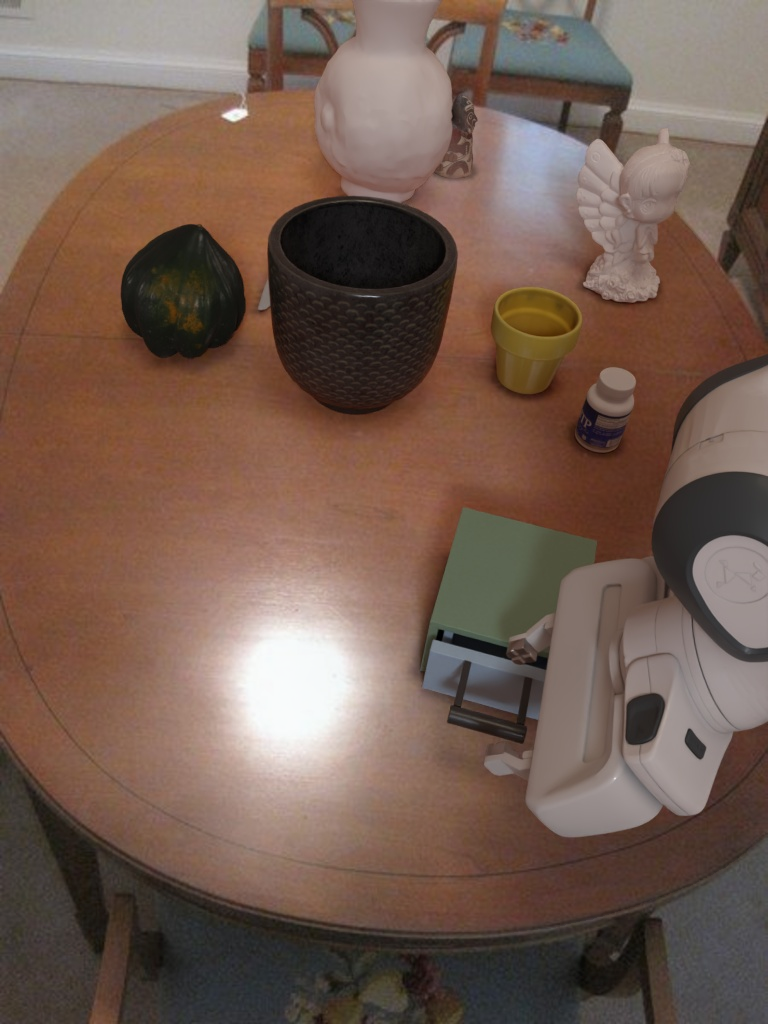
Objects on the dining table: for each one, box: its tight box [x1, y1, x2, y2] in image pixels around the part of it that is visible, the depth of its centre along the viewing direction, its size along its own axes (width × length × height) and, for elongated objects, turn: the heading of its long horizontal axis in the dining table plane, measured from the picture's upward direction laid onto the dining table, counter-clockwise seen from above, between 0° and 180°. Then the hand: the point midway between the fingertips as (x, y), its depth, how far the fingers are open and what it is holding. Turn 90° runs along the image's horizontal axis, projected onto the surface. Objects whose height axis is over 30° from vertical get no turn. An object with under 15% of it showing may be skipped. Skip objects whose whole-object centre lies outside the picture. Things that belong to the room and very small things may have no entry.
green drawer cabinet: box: [419, 506, 598, 673], centre depth 77 cm, size 14×13×8 cm
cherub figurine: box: [575, 127, 691, 303], centre depth 116 cm, size 13×12×20 cm
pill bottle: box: [574, 366, 637, 454], centre depth 96 cm, size 5×5×9 cm
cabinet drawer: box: [421, 631, 548, 745], centre depth 74 cm, size 18×11×6 cm, turn 165°
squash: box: [120, 223, 247, 360], centre depth 102 cm, size 14×15×15 cm
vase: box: [313, 0, 453, 203], centre depth 124 cm, size 19×21×30 cm
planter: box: [266, 195, 459, 416], centre depth 95 cm, size 20×20×19 cm
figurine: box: [433, 92, 479, 179], centre depth 138 cm, size 7×7×12 cm
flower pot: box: [490, 286, 584, 395], centre depth 103 cm, size 10×10×10 cm
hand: (501, 703), depth 63 cm, fingers open, 8 cm apart
